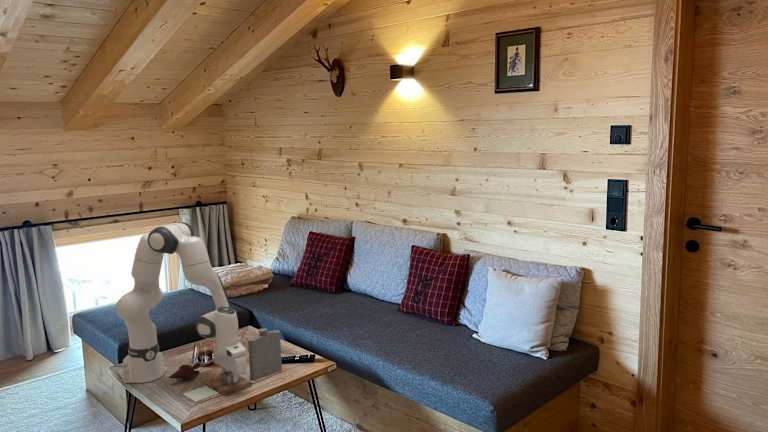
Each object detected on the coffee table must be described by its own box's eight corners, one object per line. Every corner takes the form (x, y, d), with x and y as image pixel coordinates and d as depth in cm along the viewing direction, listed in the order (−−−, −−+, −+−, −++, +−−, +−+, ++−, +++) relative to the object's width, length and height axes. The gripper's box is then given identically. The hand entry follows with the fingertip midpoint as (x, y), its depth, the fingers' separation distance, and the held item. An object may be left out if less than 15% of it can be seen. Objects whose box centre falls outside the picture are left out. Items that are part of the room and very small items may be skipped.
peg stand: (210, 387, 248) (209, 373, 247) (235, 378, 256) (235, 364, 256) (225, 395, 240) (224, 381, 239) (251, 386, 248) (250, 372, 247)
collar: (221, 382, 248) (220, 373, 247) (233, 378, 252) (232, 368, 251) (228, 386, 244) (227, 376, 243) (240, 381, 248) (239, 372, 247)
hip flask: (253, 381, 253) (250, 335, 250) (247, 378, 256) (244, 333, 252) (283, 369, 264) (281, 325, 261) (277, 366, 267) (275, 323, 264)
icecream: (175, 374, 246) (206, 365, 258) (165, 365, 251) (196, 357, 262) (172, 389, 248) (203, 379, 260) (163, 380, 252) (194, 371, 264)
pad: (183, 394, 242) (183, 393, 242) (205, 386, 249) (205, 385, 249) (195, 402, 235) (195, 401, 235) (218, 393, 242) (218, 392, 242)
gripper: (208, 342, 250) (210, 374, 253) (234, 355, 236) (237, 388, 238) (221, 338, 255) (224, 369, 257) (248, 350, 241) (250, 383, 243)
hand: (230, 378), depth 248 cm, fingers closed on collar, 6 cm apart
